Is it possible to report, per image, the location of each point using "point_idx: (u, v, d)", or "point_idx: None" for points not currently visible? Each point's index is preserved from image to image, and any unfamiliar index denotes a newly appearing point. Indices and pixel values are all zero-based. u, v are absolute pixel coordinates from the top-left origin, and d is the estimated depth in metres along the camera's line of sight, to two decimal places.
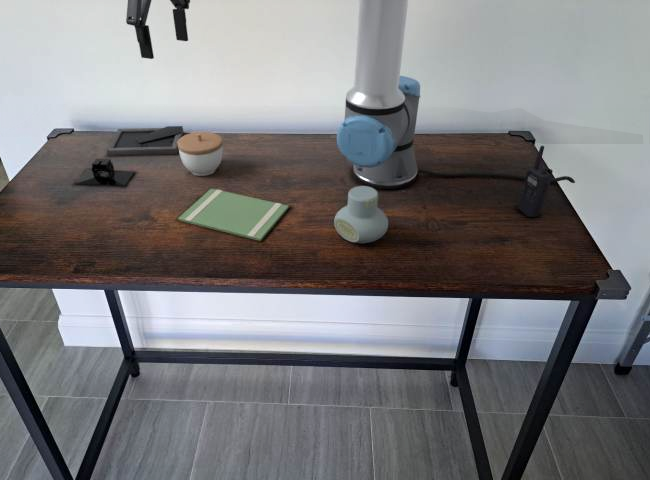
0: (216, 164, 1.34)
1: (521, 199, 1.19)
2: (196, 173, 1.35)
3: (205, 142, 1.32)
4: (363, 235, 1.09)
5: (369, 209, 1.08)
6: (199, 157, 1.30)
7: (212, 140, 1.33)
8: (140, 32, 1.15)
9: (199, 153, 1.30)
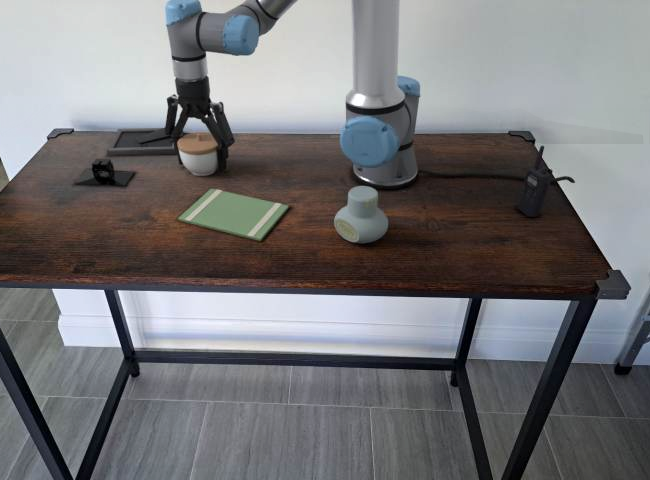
0: (216, 164, 1.34)
1: (521, 199, 1.19)
2: (196, 173, 1.35)
3: (205, 142, 1.32)
4: (363, 235, 1.09)
5: (369, 209, 1.08)
6: (199, 157, 1.30)
7: (212, 140, 1.33)
8: None
9: (199, 153, 1.30)
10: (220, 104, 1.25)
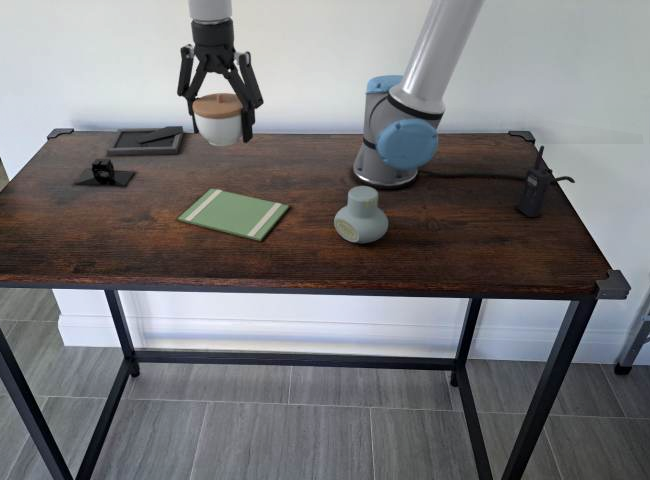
0: (240, 131, 1.09)
1: (521, 199, 1.19)
2: (215, 143, 1.11)
3: (227, 104, 1.08)
4: (363, 235, 1.09)
5: (369, 209, 1.08)
6: (220, 122, 1.06)
7: (235, 102, 1.09)
8: None
9: (220, 117, 1.05)
10: (247, 54, 1.00)
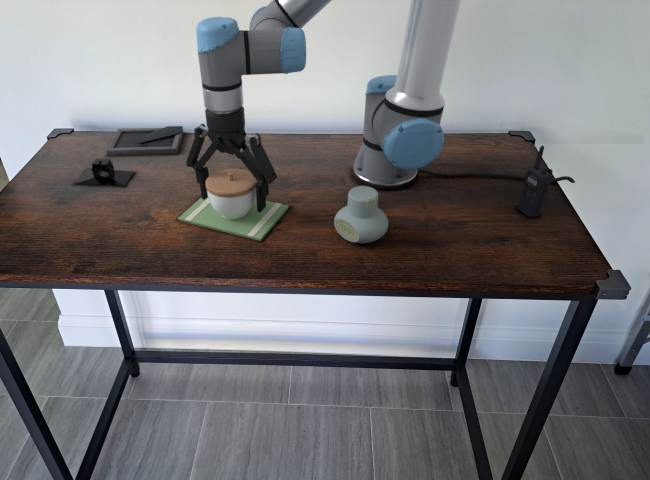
0: (249, 206, 1.18)
1: (521, 199, 1.19)
2: (226, 216, 1.19)
3: (238, 182, 1.16)
4: (363, 235, 1.09)
5: (369, 209, 1.08)
6: (231, 200, 1.14)
7: (245, 179, 1.17)
8: None
9: (231, 196, 1.13)
10: (257, 136, 1.08)
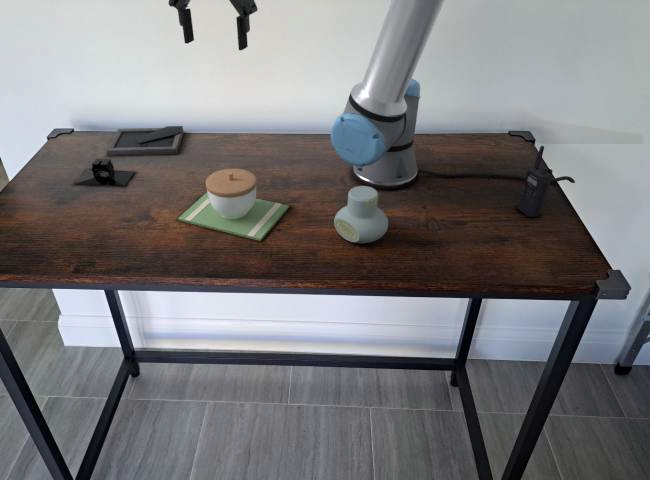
0: (250, 206, 1.18)
1: (521, 199, 1.19)
2: (226, 216, 1.19)
3: (238, 182, 1.16)
4: (363, 235, 1.09)
5: (369, 209, 1.08)
6: (231, 200, 1.14)
7: (245, 179, 1.17)
8: None
9: (231, 195, 1.13)
10: None
